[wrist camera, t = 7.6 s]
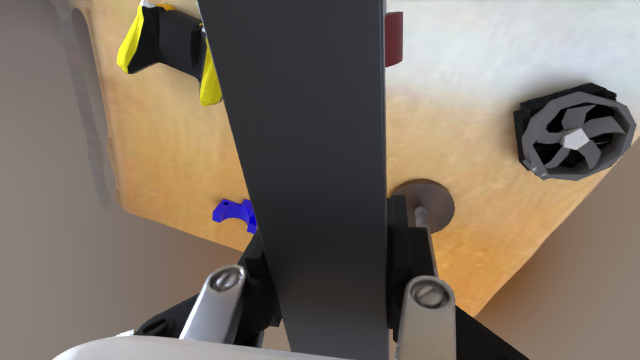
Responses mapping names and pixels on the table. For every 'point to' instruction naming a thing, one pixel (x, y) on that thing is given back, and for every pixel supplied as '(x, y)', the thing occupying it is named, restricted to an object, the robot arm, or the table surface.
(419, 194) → the stand
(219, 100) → the gaming controller
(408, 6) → the table surface
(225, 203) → the cable holder
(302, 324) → the headset
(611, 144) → the cpu cooler
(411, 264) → the robot arm
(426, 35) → the table surface
